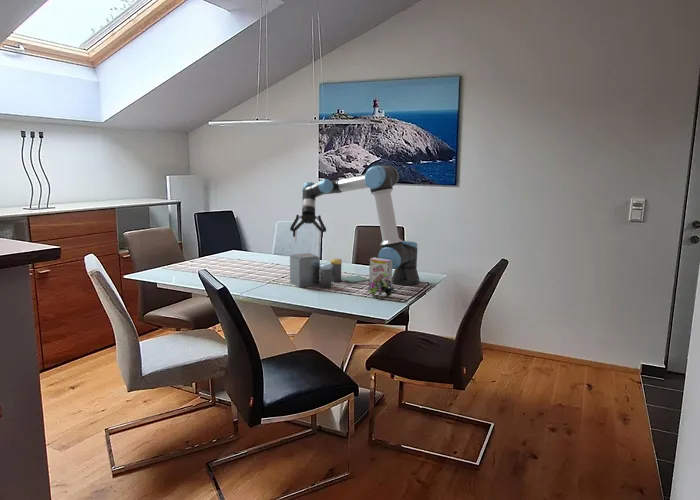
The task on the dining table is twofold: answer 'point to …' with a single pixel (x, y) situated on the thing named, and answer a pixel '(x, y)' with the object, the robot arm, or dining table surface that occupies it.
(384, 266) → the candy bar box
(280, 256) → the dining table surface
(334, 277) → the cylinder
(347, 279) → the mat
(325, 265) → the blue
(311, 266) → the box
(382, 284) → the passion flower
